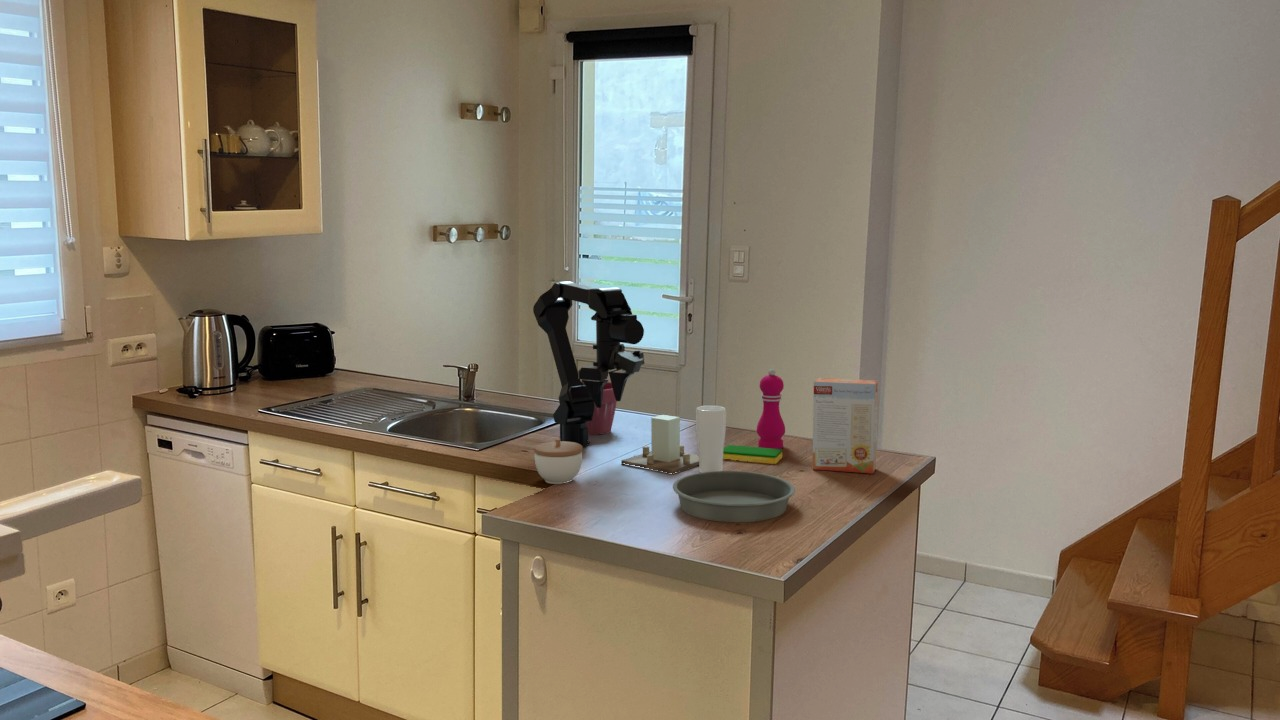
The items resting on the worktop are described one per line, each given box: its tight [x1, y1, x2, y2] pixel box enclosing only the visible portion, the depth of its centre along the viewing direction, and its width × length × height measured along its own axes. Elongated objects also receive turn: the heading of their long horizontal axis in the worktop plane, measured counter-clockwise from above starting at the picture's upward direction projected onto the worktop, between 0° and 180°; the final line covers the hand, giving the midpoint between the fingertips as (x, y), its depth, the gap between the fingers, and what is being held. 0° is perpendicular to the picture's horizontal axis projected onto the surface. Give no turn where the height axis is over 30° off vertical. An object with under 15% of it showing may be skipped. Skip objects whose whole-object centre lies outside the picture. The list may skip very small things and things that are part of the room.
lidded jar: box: [533, 438, 584, 485], centre depth 221 cm, size 11×11×9 cm
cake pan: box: [672, 470, 796, 523], centre depth 202 cm, size 25×25×4 cm
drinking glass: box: [695, 404, 727, 473], centre depth 227 cm, size 7×7×15 cm
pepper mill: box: [755, 368, 786, 449], centre depth 252 cm, size 7×7×20 cm
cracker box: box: [811, 377, 879, 475], centre depth 229 cm, size 14×6×21 cm, turn 71°
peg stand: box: [620, 444, 699, 475], centre depth 237 cm, size 15×15×3 cm
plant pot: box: [581, 381, 618, 436], centre depth 271 cm, size 14×14×13 cm
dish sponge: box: [723, 444, 783, 465], centre depth 242 cm, size 7×14×2 cm, turn 69°
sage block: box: [650, 414, 681, 462], centre depth 236 cm, size 5×4×10 cm
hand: (608, 404), depth 241 cm, fingers open, 9 cm apart
